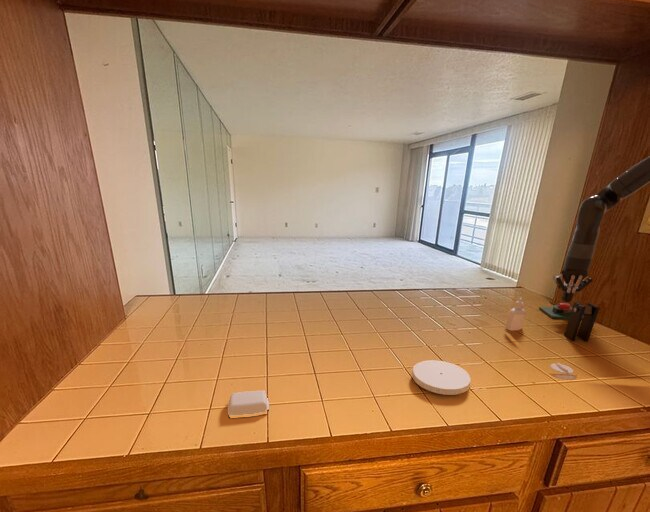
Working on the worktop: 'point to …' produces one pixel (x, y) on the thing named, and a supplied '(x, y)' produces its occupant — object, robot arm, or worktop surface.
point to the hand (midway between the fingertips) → (566, 301)
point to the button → (564, 306)
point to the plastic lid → (441, 377)
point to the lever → (587, 310)
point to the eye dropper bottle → (516, 317)
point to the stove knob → (563, 371)
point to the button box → (552, 314)
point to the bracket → (585, 324)
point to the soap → (248, 402)
